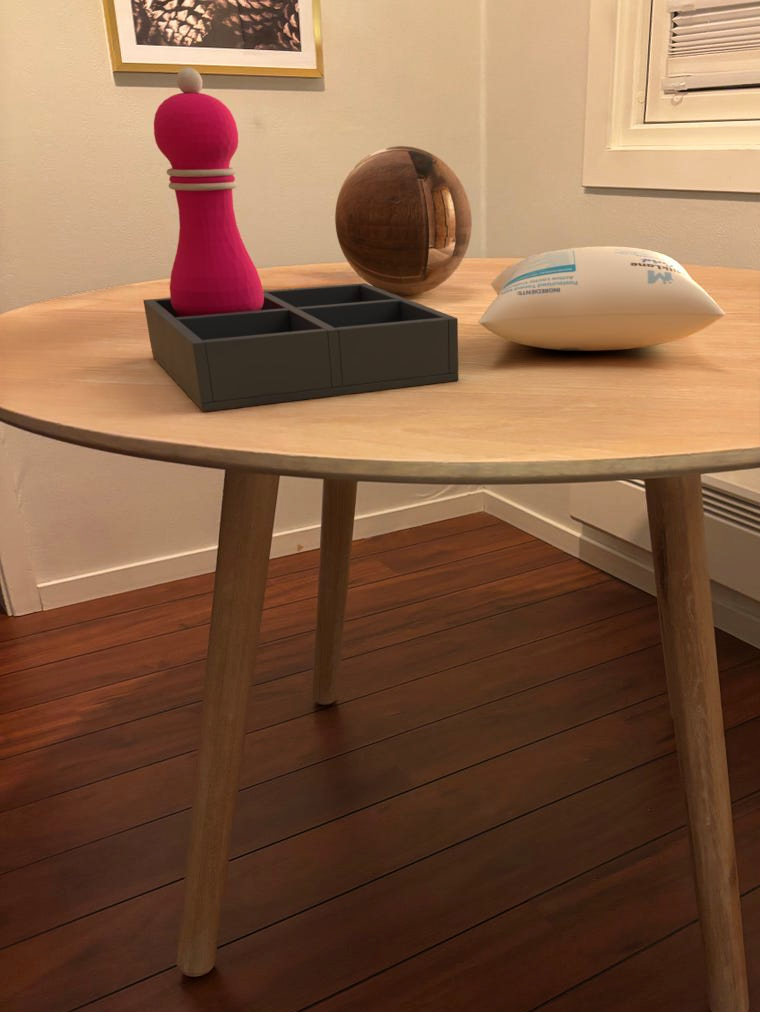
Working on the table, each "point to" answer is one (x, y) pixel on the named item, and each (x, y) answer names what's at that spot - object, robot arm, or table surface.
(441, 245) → the shiny brown ball
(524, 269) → the pouch
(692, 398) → the table surface
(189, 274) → the pepper mill
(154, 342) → the compartment tray
